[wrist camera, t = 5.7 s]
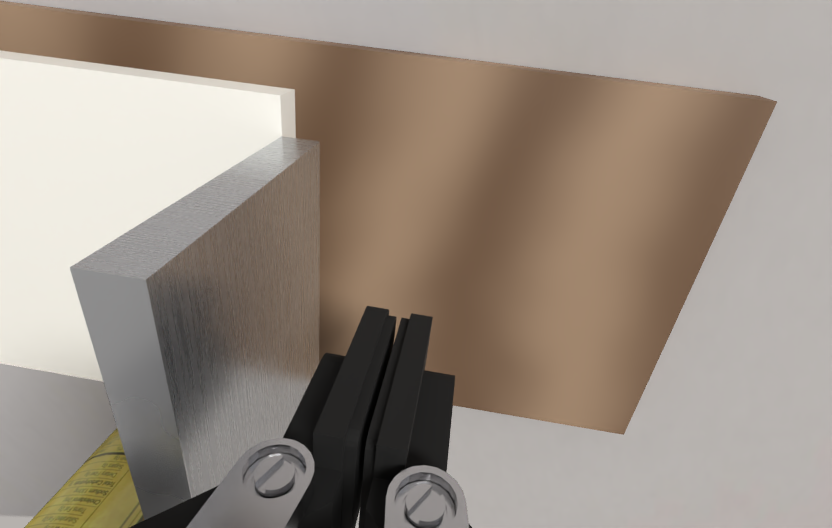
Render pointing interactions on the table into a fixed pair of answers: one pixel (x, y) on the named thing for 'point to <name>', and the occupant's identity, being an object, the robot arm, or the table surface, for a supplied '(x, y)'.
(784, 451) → the table surface
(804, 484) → the table surface
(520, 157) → the clip board
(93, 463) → the sauce bottle
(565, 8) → the table surface
